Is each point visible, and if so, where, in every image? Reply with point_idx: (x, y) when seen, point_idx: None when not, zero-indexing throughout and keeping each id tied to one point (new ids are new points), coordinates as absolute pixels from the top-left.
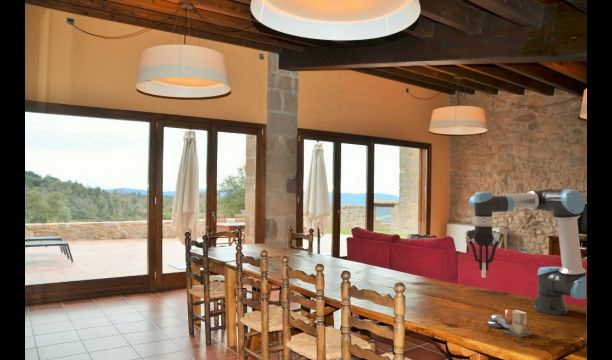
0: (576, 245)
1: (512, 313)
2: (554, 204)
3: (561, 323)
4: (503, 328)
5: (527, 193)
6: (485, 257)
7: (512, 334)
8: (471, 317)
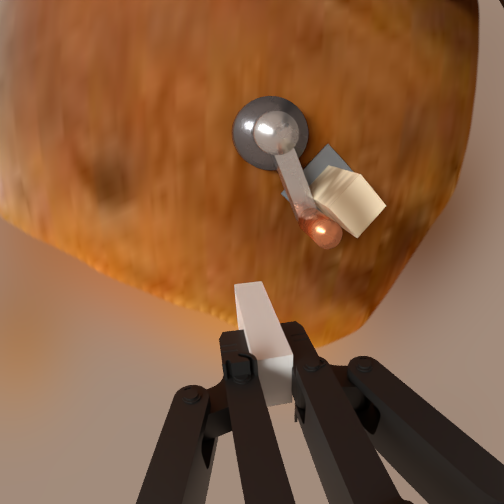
0: None
1: (337, 218)
2: None
3: (446, 63)
4: None
5: None
6: (308, 443)
7: None
8: (175, 56)
